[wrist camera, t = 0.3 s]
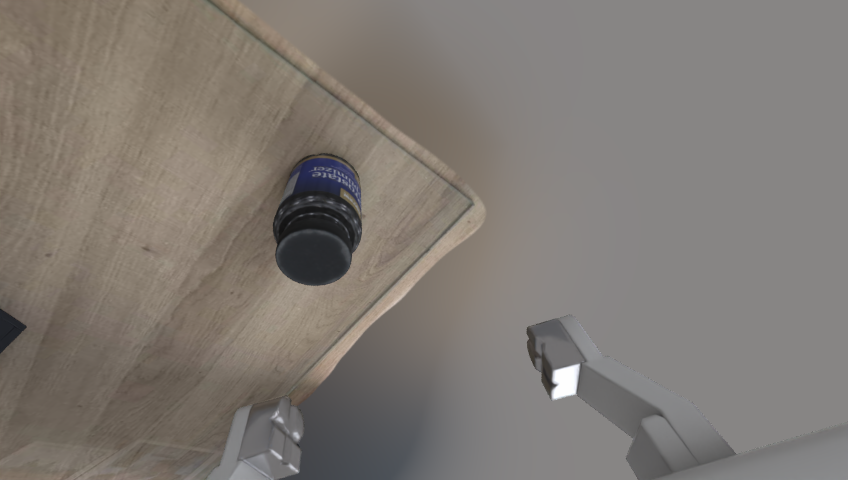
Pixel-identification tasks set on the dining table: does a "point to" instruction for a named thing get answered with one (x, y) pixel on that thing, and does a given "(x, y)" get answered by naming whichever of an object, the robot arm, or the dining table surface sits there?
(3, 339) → the black divided organizer
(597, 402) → the robot arm
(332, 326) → the dining table surface
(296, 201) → the pill bottle
